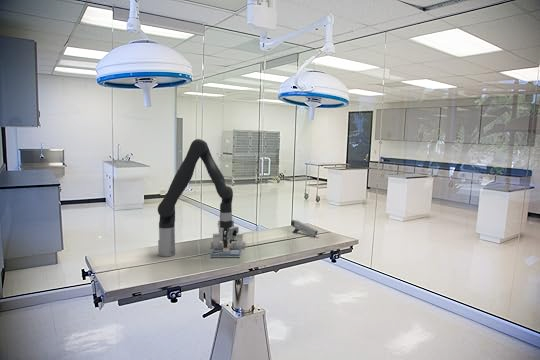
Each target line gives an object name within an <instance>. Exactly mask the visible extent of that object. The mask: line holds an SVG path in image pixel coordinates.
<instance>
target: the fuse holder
mask: <svg viewBox="0 0 540 360" xmlns="http://www.w3.org/2000/svg"><path fill="white" fill-rule="evenodd" d="M219 244H220V247H219V248H223V241H220V240H219ZM229 248H237V240H236V241H234V240H232V241H231V244H229ZM245 249H246V241H244V240H243V248H241V250H245ZM209 250H213V240H212V241H210V248H209Z"/></svg>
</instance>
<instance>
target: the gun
mask: <svg viewBox="0 0 540 360" xmlns="http://www.w3.org/2000/svg"><path fill="white" fill-rule="evenodd" d="M290 223H291V224H290V226H291V227H293V228H294V230H293V231H292V233H293V234H297V233H298V232H301V233H303V234H305V235H307V236H309V237H311V238H313V237H314V238H316V236H317V234H318V233H319V232H318V230H317V229H316V228H313V227H311V226H310V225H308V224H305V223H304V222H301V221H299V220H295V219H292V220H291V222H290Z"/></svg>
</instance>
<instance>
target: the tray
mask: <svg viewBox="0 0 540 360" xmlns="http://www.w3.org/2000/svg"><path fill="white" fill-rule="evenodd" d="M229 250H230V251H238V252H237V253H229V254H223V253H214V252H215V251H223V248H213V249H211V252H210V259H240V256H241V250H242V249H241V248H229Z"/></svg>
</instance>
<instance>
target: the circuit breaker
mask: <svg viewBox="0 0 540 360" xmlns="http://www.w3.org/2000/svg"><path fill="white" fill-rule="evenodd" d="M234 223H235V221H234V220H233V219H232V227H231V228H229V230H230V232H229V242H230V241H231V242H232V241H234V240H235V239H237V233H240V232H239V226H236V225H235V224H234ZM217 228H218V233H220V236H219V242H220V241H222V242H223V233H222V231H223V230H224V228H221V227H220V220H217ZM224 239H225V238H224Z"/></svg>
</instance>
